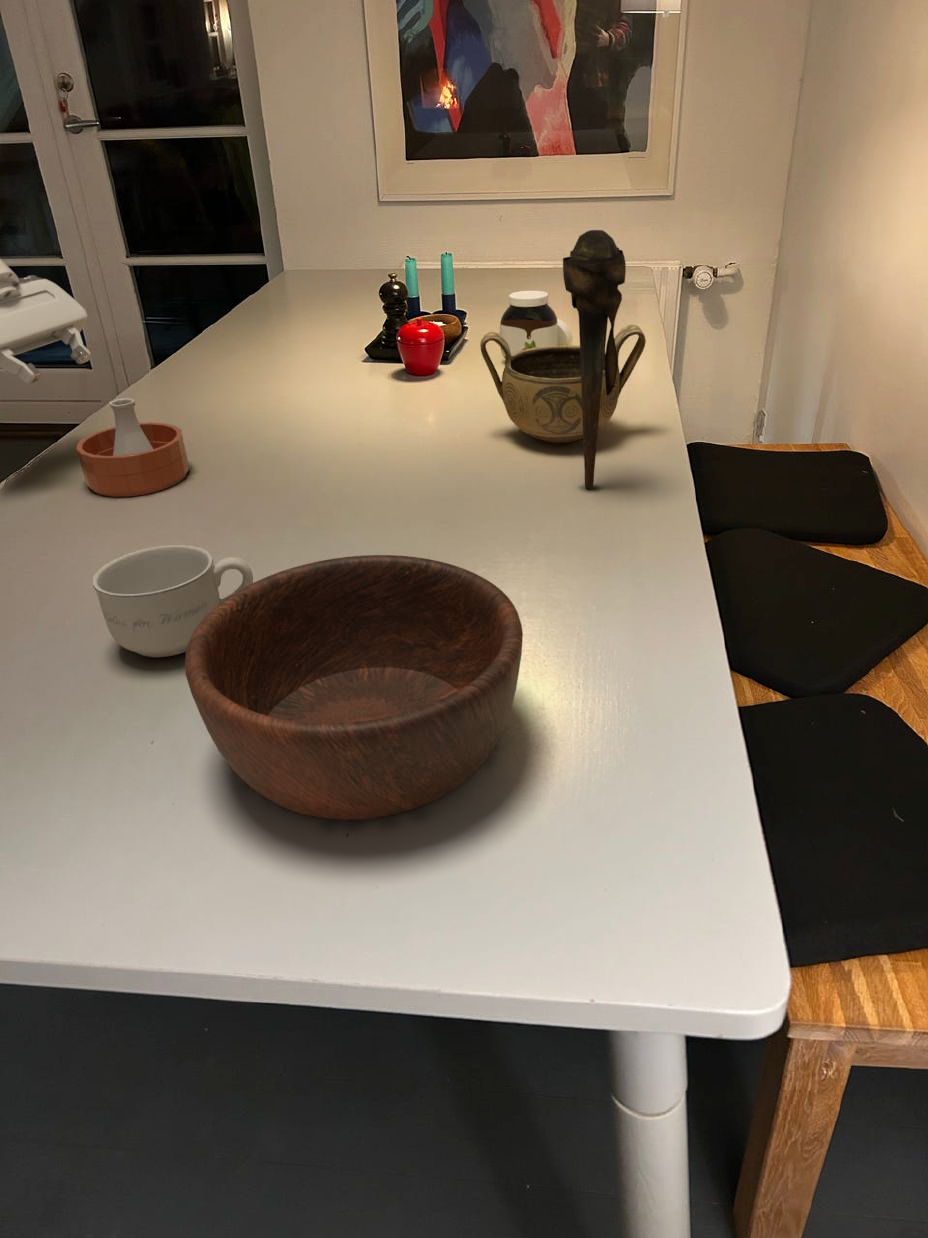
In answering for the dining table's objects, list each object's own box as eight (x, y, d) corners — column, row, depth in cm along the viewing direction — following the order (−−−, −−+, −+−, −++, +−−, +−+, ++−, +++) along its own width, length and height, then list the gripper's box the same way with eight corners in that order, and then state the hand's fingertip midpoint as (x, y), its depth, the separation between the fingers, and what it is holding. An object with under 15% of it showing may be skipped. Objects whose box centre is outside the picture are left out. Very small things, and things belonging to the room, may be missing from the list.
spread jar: (496, 366, 164) (494, 298, 158) (513, 349, 173) (512, 285, 167) (562, 369, 160) (562, 300, 154) (575, 352, 169) (577, 286, 163)
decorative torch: (577, 502, 111) (583, 238, 96) (552, 483, 117) (553, 230, 101) (626, 492, 113) (639, 231, 98) (599, 473, 119) (607, 224, 103)
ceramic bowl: (632, 415, 138) (638, 312, 130) (646, 456, 123) (653, 343, 115) (484, 418, 139) (481, 317, 131) (481, 460, 125) (477, 348, 117)
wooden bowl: (521, 650, 84) (520, 549, 78) (527, 850, 62) (526, 730, 57) (251, 654, 85) (232, 555, 80) (166, 851, 63) (132, 734, 58)
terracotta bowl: (72, 499, 119) (60, 459, 116) (107, 461, 130) (98, 424, 127) (174, 495, 118) (165, 455, 116) (200, 458, 130) (193, 420, 127)
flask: (176, 472, 124) (160, 399, 119) (126, 488, 120) (108, 414, 115) (150, 459, 128) (134, 389, 123) (101, 474, 124) (83, 402, 119)
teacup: (97, 674, 83) (74, 597, 79) (130, 613, 92) (111, 542, 88) (250, 666, 83) (235, 589, 79) (268, 606, 92) (256, 534, 88)
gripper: (32, 289, 128) (105, 364, 129) (-92, 323, 111) (-6, 408, 113) (48, 256, 124) (123, 333, 126) (-77, 286, 108) (11, 374, 109)
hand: (61, 369), depth 119 cm, fingers open, 8 cm apart
